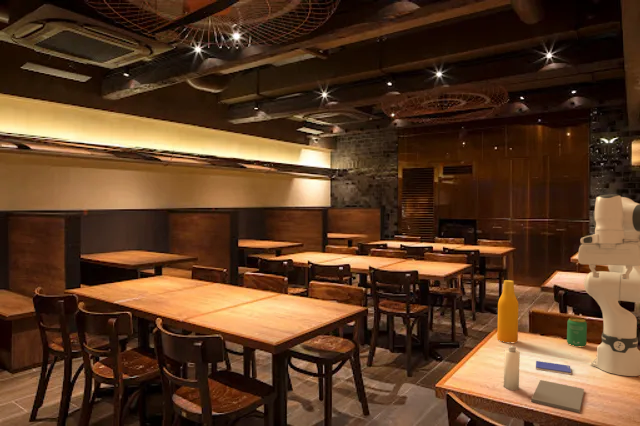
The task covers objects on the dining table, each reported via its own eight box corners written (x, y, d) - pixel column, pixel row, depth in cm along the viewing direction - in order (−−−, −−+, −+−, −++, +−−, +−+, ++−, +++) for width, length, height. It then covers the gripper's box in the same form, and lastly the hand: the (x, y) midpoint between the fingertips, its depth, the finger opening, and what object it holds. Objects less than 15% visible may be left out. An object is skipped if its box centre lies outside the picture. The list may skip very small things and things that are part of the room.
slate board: (540, 382, 169) (540, 379, 169) (584, 391, 161) (584, 388, 161) (531, 401, 152) (531, 398, 152) (579, 413, 144) (579, 409, 144)
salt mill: (505, 383, 167) (506, 343, 167) (520, 386, 165) (521, 346, 164) (502, 387, 163) (503, 347, 163) (517, 391, 160) (518, 350, 160)
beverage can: (588, 344, 216) (588, 319, 216) (584, 348, 210) (584, 322, 210) (569, 341, 221) (569, 316, 221) (564, 344, 215) (565, 319, 215)
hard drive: (570, 365, 184) (536, 360, 190) (571, 371, 177) (535, 366, 182) (569, 369, 184) (536, 364, 190) (571, 375, 177) (535, 370, 182)
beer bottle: (516, 344, 214) (517, 283, 213) (495, 341, 219) (496, 281, 218) (519, 340, 222) (520, 280, 221) (499, 336, 227) (500, 278, 226)
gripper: (647, 239, 156) (648, 280, 155) (583, 239, 172) (584, 276, 171) (640, 238, 152) (641, 280, 151) (575, 238, 168) (576, 276, 167)
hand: (610, 278), depth 161 cm, fingers open, 8 cm apart
